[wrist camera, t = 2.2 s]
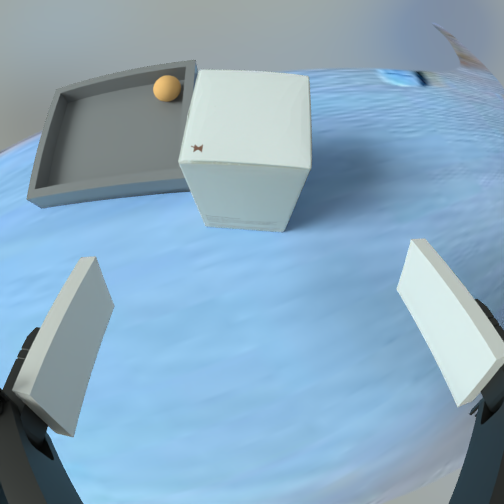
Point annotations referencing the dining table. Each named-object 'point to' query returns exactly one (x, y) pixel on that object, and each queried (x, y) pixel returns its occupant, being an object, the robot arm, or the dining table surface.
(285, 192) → the supplement box
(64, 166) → the tray
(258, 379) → the dining table surface
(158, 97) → the ball
